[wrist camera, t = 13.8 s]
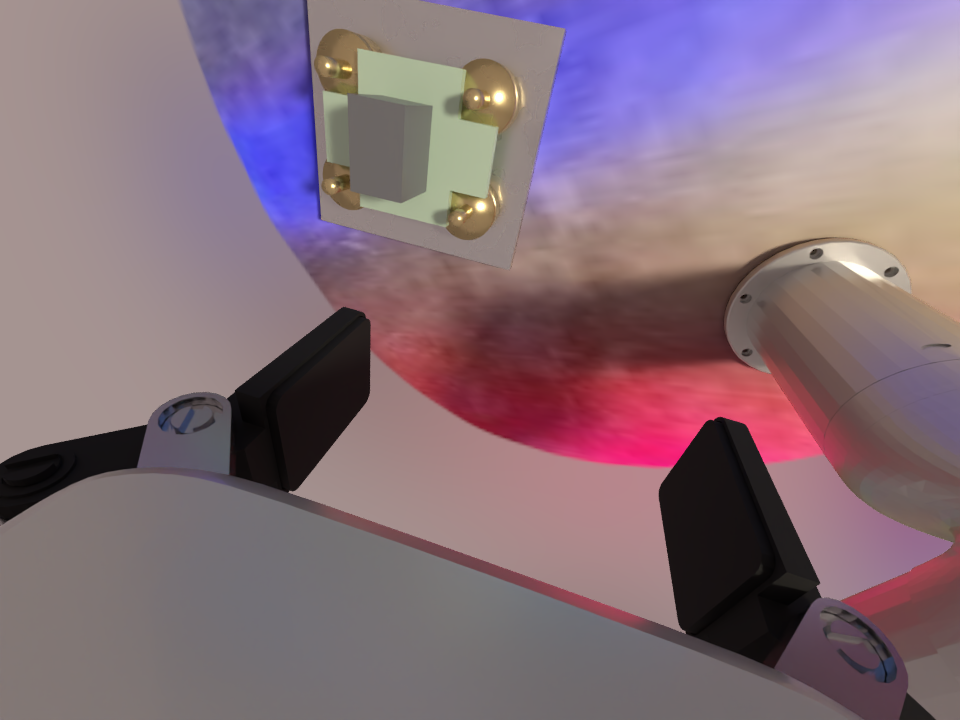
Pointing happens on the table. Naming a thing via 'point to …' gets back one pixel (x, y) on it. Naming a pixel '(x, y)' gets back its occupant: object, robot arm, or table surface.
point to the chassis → (487, 99)
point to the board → (448, 134)
